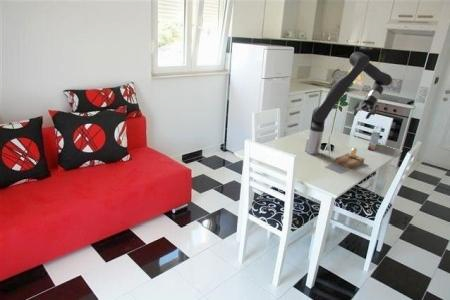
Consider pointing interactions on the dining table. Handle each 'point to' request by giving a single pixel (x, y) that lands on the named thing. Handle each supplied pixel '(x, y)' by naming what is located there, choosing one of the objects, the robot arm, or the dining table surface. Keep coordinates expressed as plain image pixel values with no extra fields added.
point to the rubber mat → (336, 168)
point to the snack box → (374, 138)
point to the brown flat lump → (349, 161)
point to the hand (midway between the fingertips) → (360, 116)
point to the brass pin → (353, 153)
